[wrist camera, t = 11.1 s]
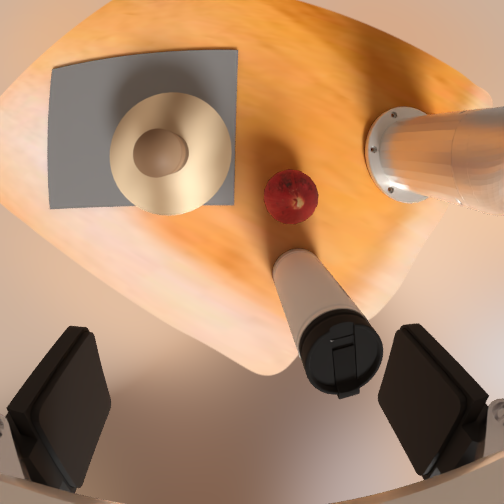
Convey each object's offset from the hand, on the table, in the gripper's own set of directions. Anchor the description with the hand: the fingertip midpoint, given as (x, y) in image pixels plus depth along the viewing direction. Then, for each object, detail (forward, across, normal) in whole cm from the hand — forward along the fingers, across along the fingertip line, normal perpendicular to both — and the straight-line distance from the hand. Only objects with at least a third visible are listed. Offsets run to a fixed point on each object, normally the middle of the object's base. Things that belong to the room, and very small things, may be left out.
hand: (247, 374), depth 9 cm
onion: (+31, -6, -2) cm, 31 cm away
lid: (+24, +6, -6) cm, 26 cm away
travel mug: (+31, -8, +8) cm, 33 cm away
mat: (+30, +12, -10) cm, 34 cm away
